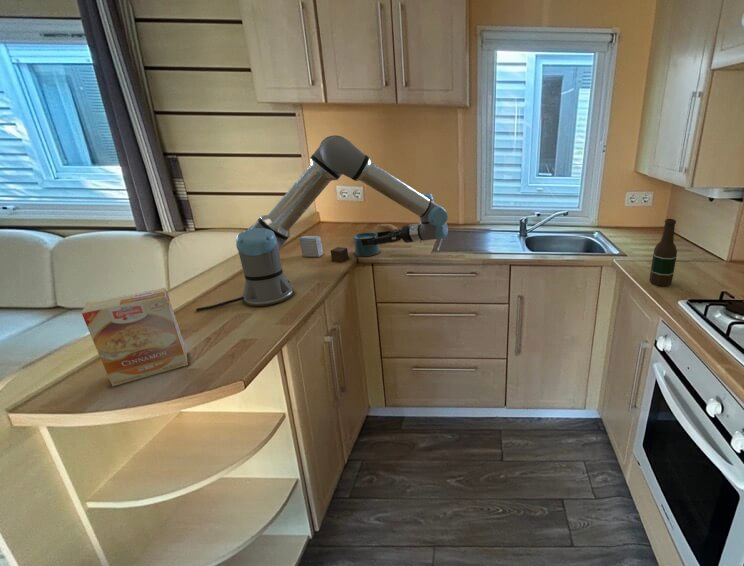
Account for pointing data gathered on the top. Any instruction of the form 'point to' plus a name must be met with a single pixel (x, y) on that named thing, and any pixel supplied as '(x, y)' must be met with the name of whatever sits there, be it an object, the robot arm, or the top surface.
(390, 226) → the bread roll
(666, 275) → the beer bottle
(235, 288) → the top surface
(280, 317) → the top surface
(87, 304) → the coffeecake box
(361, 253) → the teal blue cylinder
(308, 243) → the medicine box
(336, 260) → the block
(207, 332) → the top surface
